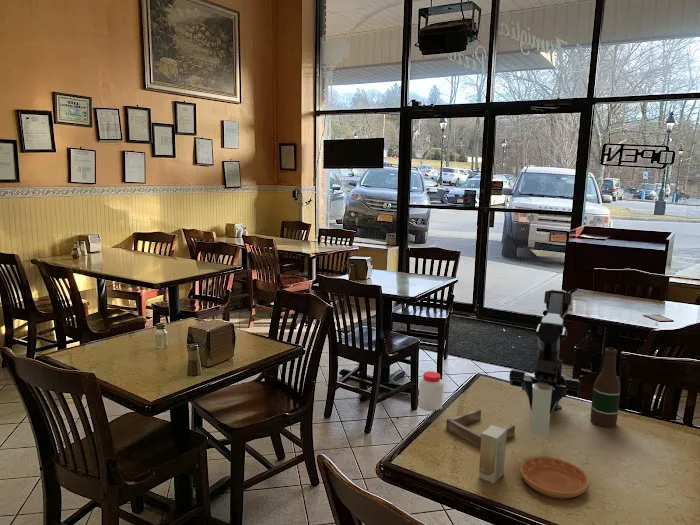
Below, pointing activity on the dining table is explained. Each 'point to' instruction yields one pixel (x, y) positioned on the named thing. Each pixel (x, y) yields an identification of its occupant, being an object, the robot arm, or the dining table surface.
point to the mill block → (541, 409)
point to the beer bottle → (606, 393)
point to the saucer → (554, 477)
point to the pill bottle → (430, 391)
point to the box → (468, 434)
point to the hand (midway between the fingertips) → (540, 411)
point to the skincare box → (492, 453)
